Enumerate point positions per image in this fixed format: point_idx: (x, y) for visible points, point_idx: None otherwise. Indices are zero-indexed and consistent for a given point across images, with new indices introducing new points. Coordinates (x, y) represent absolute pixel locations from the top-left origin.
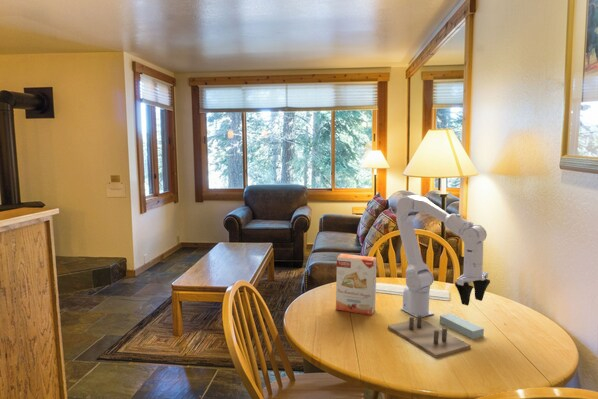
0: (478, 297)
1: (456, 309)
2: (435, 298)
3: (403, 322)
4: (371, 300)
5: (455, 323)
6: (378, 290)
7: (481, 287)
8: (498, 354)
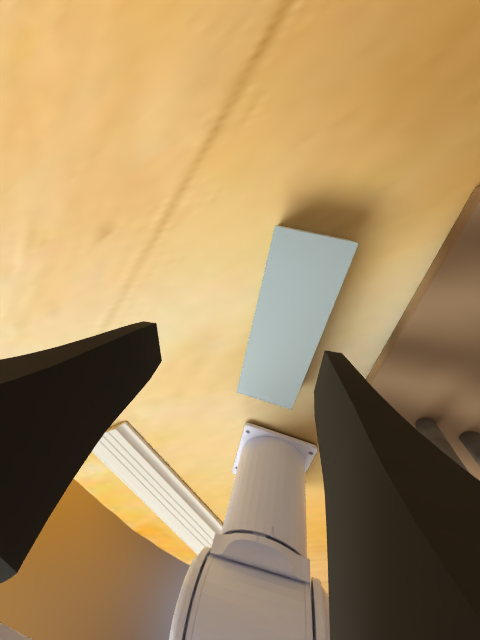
0: (147, 352)
1: (154, 390)
2: (148, 449)
3: None
4: None
5: (317, 342)
6: None
7: (47, 403)
8: (459, 18)
